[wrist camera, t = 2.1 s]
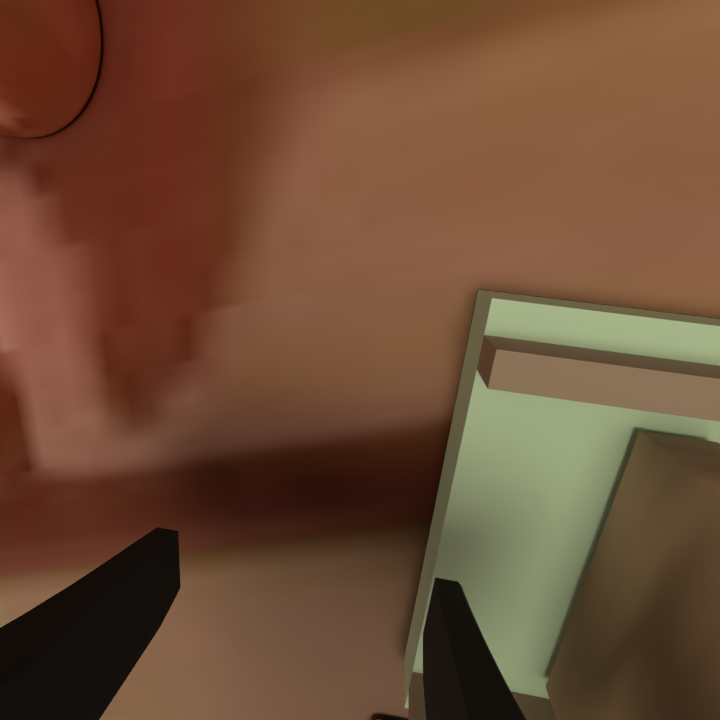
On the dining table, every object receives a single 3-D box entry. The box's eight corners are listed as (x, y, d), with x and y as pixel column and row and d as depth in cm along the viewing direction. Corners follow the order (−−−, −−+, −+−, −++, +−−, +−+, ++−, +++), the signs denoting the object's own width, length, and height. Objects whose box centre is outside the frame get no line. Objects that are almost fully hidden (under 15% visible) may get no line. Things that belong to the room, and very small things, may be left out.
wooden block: (604, 698, 13) (713, 946, 9) (545, 686, 13) (620, 924, 9) (717, 442, 10) (980, 609, 6) (638, 430, 10) (829, 582, 6)
